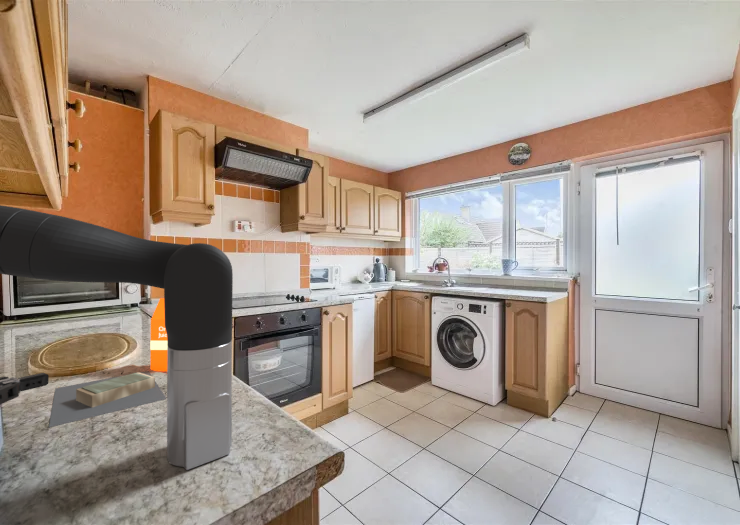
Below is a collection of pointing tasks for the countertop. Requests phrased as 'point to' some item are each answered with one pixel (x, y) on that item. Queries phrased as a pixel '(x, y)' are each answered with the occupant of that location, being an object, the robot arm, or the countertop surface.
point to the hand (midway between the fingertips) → (46, 378)
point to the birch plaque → (114, 389)
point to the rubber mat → (73, 410)
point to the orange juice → (158, 339)
